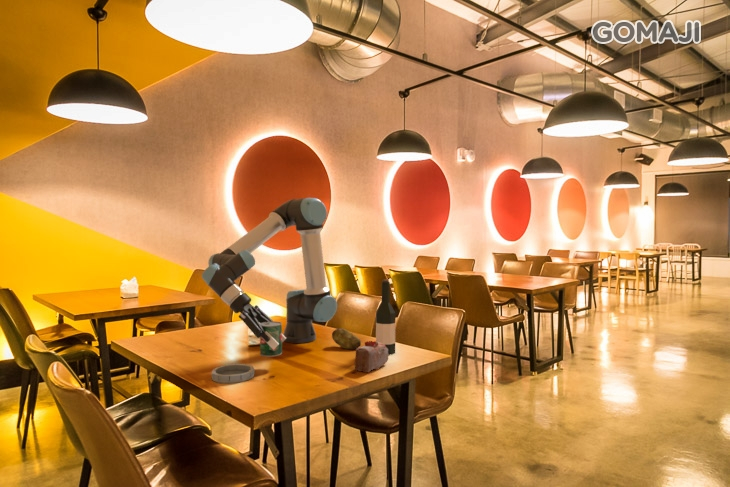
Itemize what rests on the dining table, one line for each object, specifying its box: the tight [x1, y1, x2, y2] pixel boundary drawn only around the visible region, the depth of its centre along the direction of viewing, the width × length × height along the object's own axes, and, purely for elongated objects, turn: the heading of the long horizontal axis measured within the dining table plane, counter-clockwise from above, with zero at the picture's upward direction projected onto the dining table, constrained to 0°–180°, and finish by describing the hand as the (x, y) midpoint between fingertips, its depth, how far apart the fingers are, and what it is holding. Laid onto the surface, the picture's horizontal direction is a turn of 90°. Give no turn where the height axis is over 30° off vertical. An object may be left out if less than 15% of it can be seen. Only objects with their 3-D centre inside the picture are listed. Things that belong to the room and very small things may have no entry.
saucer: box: [211, 363, 256, 384], centre depth 159 cm, size 14×14×2 cm
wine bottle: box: [375, 279, 396, 355], centre depth 191 cm, size 8×8×30 cm
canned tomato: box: [259, 320, 283, 358], centre depth 168 cm, size 8×8×11 cm
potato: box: [331, 327, 362, 350], centre depth 199 cm, size 8×13×8 cm, turn 44°
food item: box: [354, 340, 389, 373], centre depth 170 cm, size 14×8×10 cm, turn 149°
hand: (280, 343), depth 168 cm, fingers closed on canned tomato, 8 cm apart
